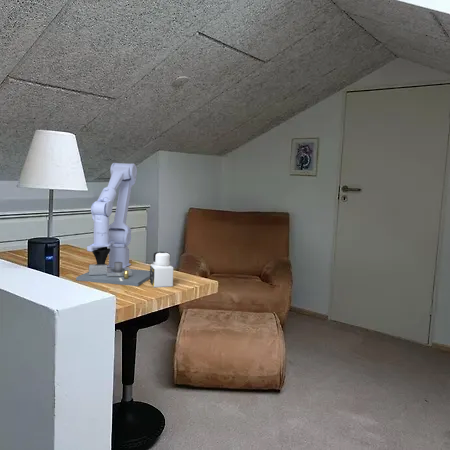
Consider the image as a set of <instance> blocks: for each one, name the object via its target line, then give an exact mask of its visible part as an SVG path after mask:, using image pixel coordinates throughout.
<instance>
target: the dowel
mask: <svg viewBox="0 0 450 450" xmlns="http://www.w3.org/2000/svg"><path fill="white" fill-rule="evenodd" d="M128 277H129V271H128V270H124V279H128Z"/></svg>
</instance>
